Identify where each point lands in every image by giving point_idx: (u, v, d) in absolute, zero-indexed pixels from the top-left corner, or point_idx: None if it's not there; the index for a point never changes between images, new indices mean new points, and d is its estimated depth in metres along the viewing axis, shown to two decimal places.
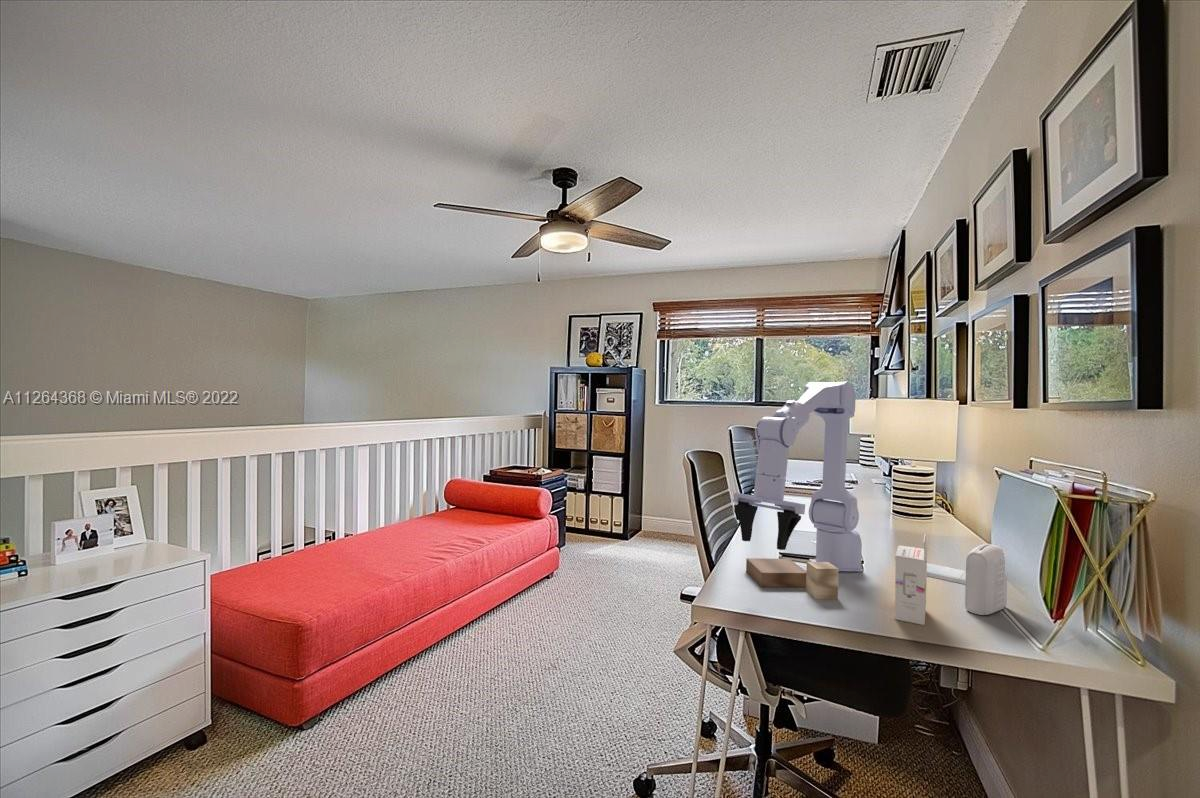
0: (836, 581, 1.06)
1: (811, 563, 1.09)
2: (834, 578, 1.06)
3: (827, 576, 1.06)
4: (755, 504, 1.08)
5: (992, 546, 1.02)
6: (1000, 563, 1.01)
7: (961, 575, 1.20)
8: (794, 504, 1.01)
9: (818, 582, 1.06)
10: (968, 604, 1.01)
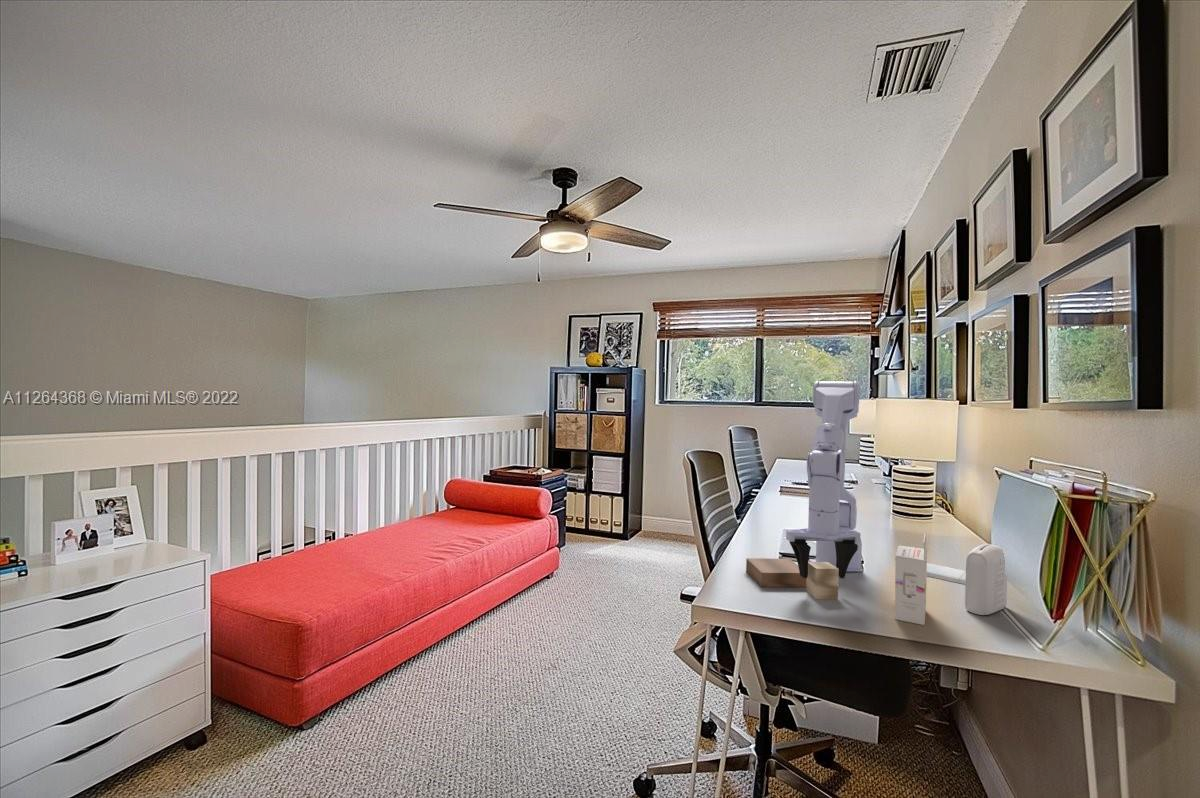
0: (836, 581, 1.06)
1: (811, 563, 1.09)
2: (834, 578, 1.06)
3: (827, 576, 1.06)
4: (811, 539, 1.08)
5: (992, 546, 1.02)
6: (1000, 563, 1.01)
7: (961, 575, 1.20)
8: (855, 534, 1.08)
9: (818, 582, 1.06)
10: (968, 604, 1.01)
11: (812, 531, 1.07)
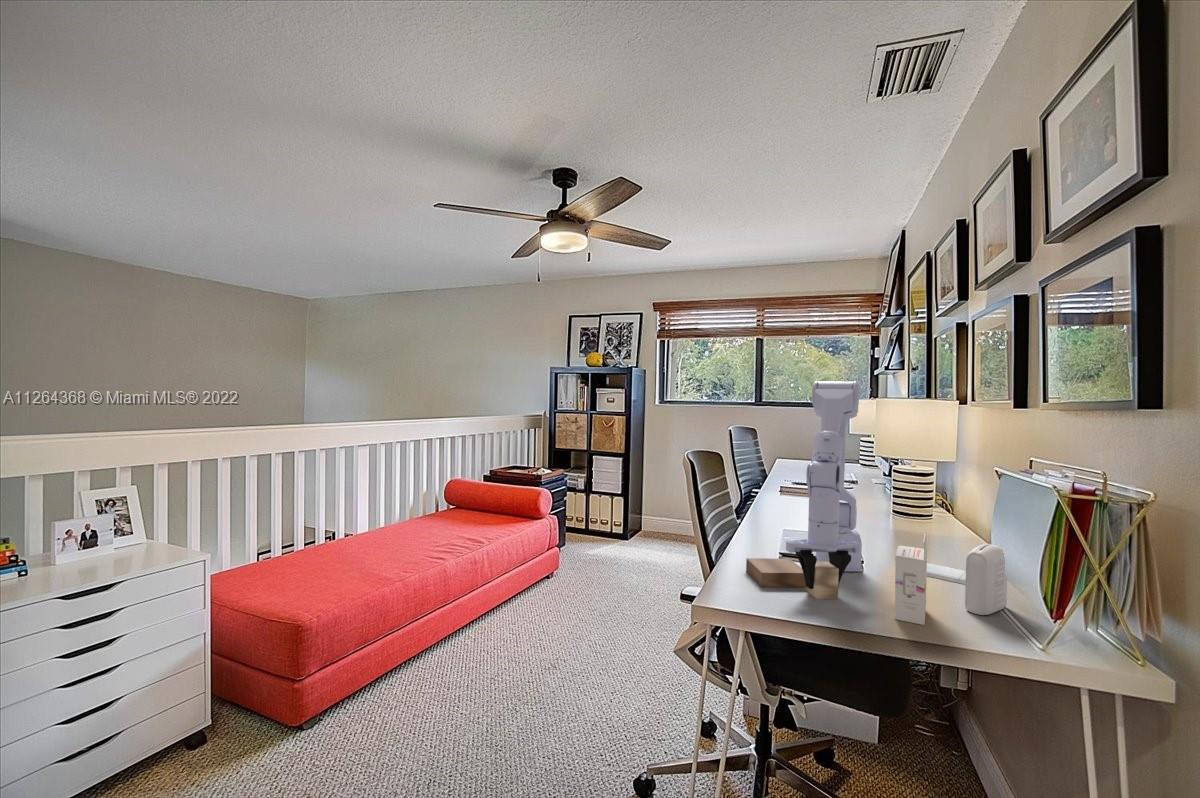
0: (836, 581, 1.06)
1: None
2: (834, 578, 1.06)
3: (827, 575, 1.06)
4: (811, 550, 1.08)
5: (992, 546, 1.02)
6: (1000, 563, 1.01)
7: (961, 575, 1.20)
8: (855, 545, 1.08)
9: (818, 582, 1.06)
10: (968, 604, 1.01)
11: (812, 542, 1.07)
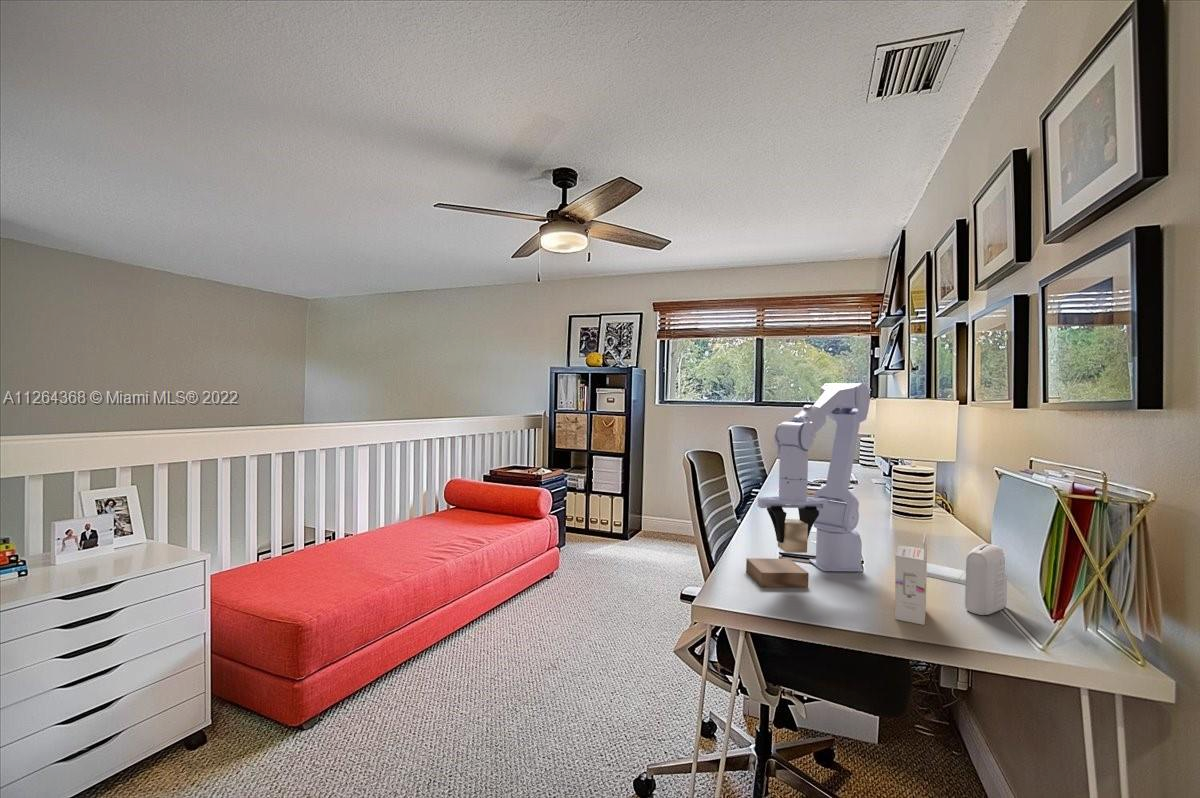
0: (805, 536, 1.12)
1: None
2: (803, 533, 1.12)
3: (796, 531, 1.12)
4: (782, 506, 1.14)
5: (992, 546, 1.02)
6: (1000, 563, 1.01)
7: (961, 575, 1.20)
8: (822, 501, 1.13)
9: (788, 537, 1.12)
10: (968, 604, 1.01)
11: (782, 498, 1.13)
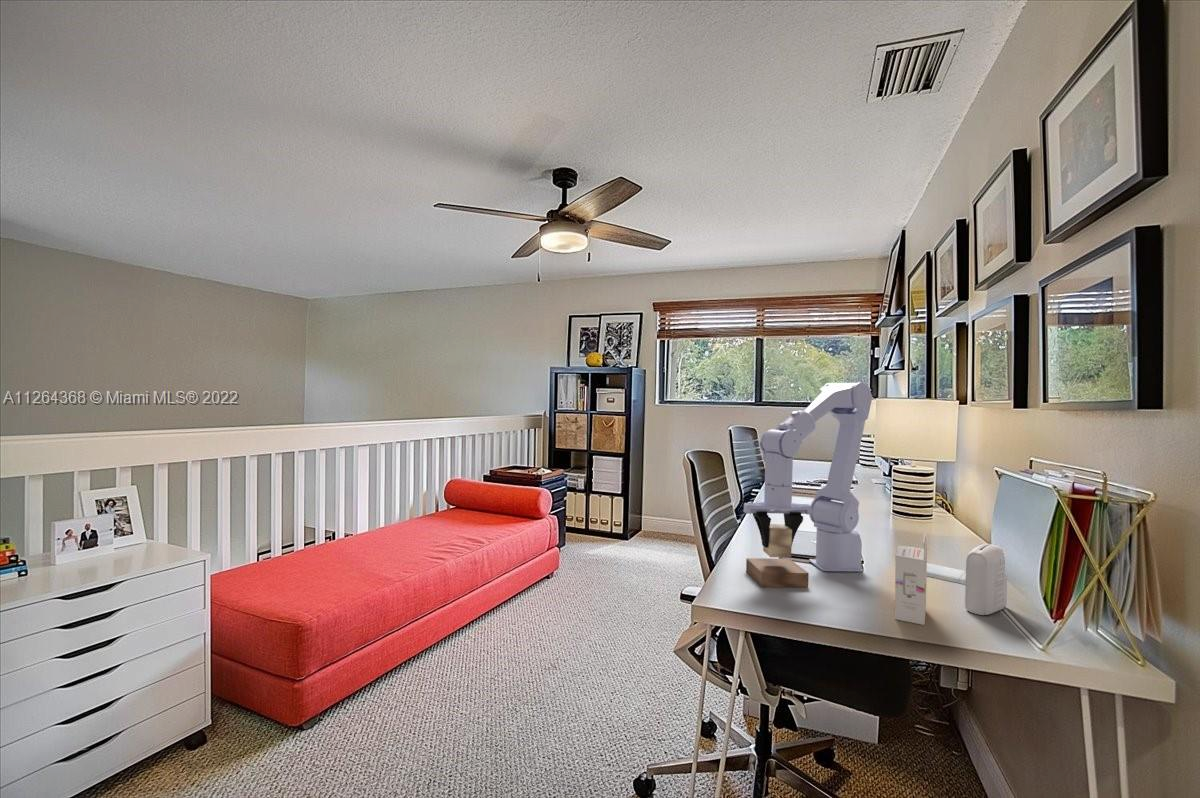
0: (789, 541, 1.15)
1: None
2: (788, 538, 1.15)
3: (781, 536, 1.15)
4: (767, 512, 1.17)
5: (992, 546, 1.02)
6: (1000, 563, 1.01)
7: (961, 575, 1.20)
8: (807, 507, 1.16)
9: (772, 542, 1.15)
10: (968, 604, 1.01)
11: (767, 504, 1.16)
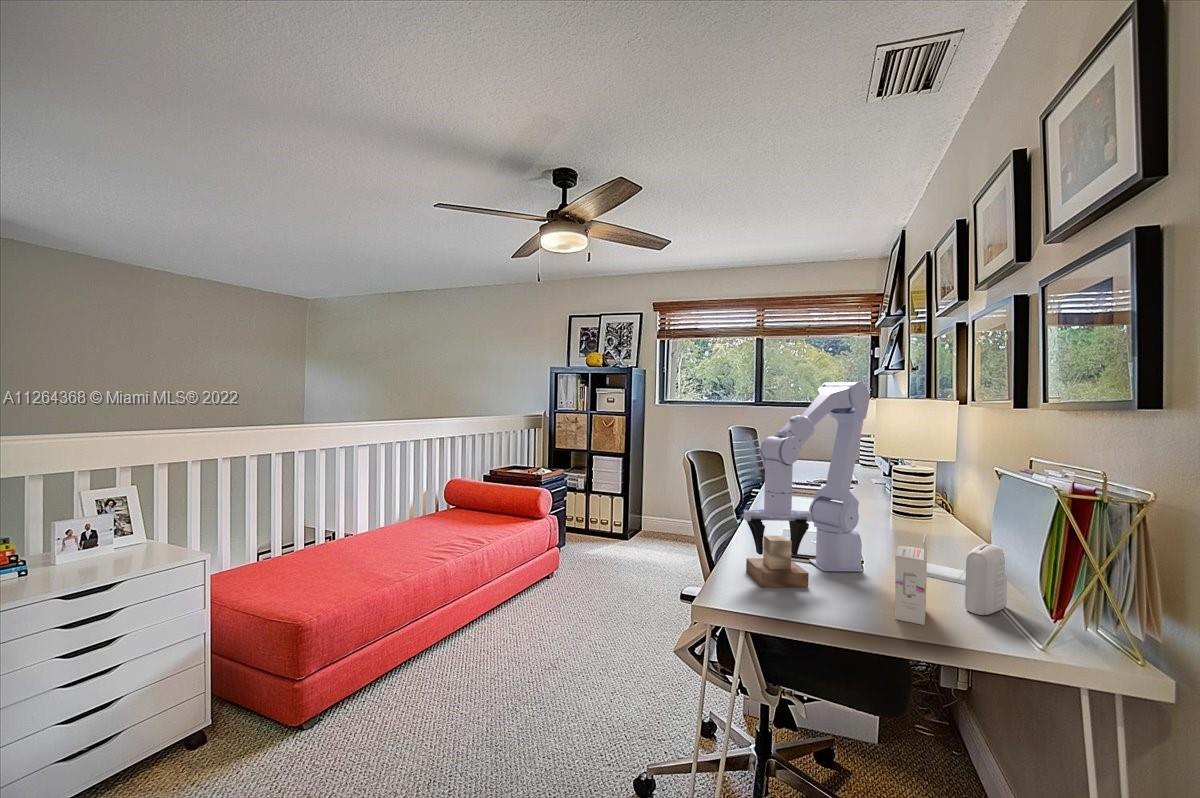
0: (789, 552, 1.15)
1: (767, 537, 1.18)
2: (787, 550, 1.15)
3: (780, 547, 1.15)
4: (766, 519, 1.17)
5: (992, 546, 1.02)
6: (1000, 563, 1.01)
7: (960, 575, 1.20)
8: (806, 514, 1.16)
9: (772, 553, 1.15)
10: (968, 604, 1.01)
11: (767, 511, 1.16)
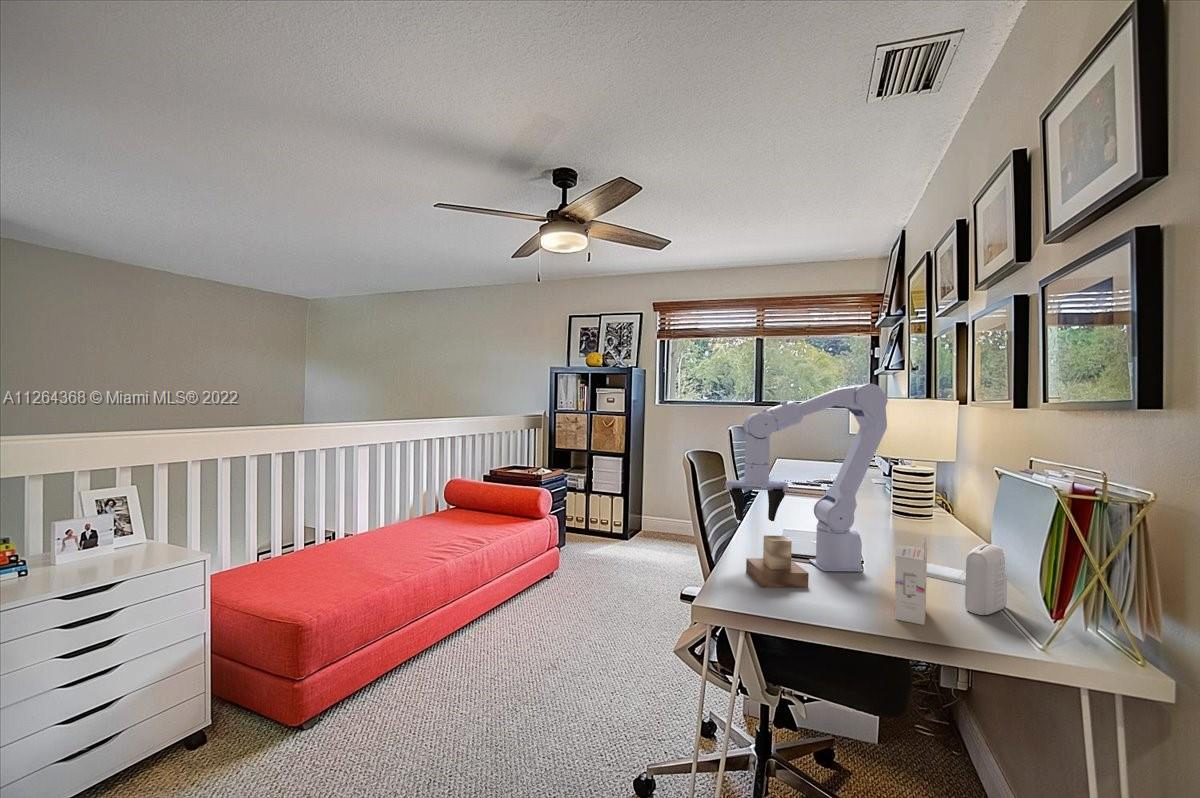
0: (789, 552, 1.15)
1: (767, 537, 1.18)
2: (787, 550, 1.15)
3: (780, 547, 1.15)
4: (746, 488, 1.28)
5: (992, 546, 1.02)
6: (1000, 563, 1.01)
7: (960, 575, 1.20)
8: (783, 484, 1.27)
9: (772, 553, 1.15)
10: (968, 604, 1.01)
11: (747, 481, 1.27)
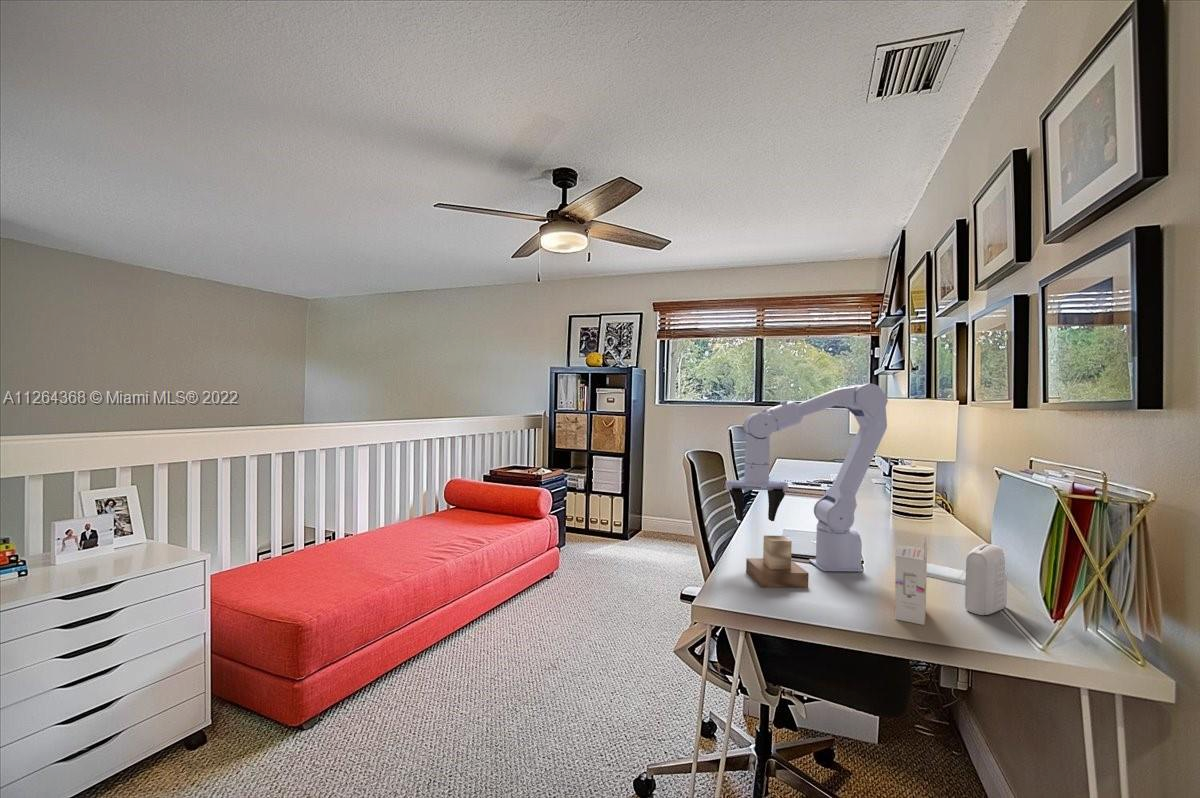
0: (789, 552, 1.15)
1: (767, 537, 1.18)
2: (787, 550, 1.15)
3: (780, 547, 1.15)
4: (746, 488, 1.28)
5: (992, 546, 1.02)
6: (1000, 563, 1.01)
7: (960, 575, 1.20)
8: (783, 484, 1.27)
9: (772, 553, 1.15)
10: (968, 604, 1.01)
11: (747, 481, 1.27)
